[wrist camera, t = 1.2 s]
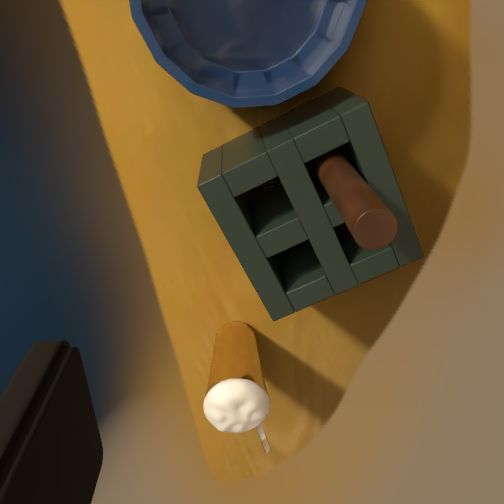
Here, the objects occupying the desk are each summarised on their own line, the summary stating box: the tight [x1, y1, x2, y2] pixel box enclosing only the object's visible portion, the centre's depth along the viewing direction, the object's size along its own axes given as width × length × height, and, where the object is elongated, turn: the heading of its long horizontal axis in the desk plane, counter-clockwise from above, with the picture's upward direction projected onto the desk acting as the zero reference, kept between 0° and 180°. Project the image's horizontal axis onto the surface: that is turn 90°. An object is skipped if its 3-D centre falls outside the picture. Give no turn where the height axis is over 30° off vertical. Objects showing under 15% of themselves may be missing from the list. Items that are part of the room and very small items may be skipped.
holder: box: [197, 86, 424, 321], centre depth 31 cm, size 10×10×7 cm
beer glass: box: [204, 321, 270, 453], centre depth 36 cm, size 4×5×10 cm
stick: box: [309, 148, 398, 250], centre depth 27 cm, size 2×2×15 cm
